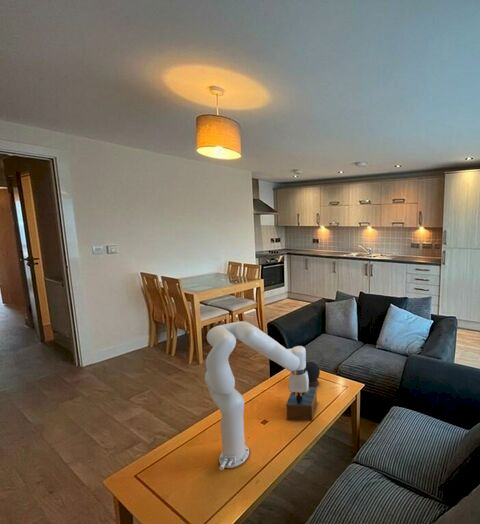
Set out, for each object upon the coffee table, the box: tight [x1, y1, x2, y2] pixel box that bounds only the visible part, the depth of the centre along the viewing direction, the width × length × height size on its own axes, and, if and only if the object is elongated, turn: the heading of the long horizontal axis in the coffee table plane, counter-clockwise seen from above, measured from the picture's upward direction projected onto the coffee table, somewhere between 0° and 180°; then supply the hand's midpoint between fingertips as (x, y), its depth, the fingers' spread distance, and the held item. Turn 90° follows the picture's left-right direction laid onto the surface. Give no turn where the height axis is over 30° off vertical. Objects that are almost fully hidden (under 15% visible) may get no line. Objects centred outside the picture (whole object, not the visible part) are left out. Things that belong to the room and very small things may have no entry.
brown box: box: [286, 388, 318, 422], centre depth 160 cm, size 16×14×9 cm
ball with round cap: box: [306, 361, 321, 388], centre depth 185 cm, size 13×13×15 cm
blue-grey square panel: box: [285, 386, 318, 407], centre depth 159 cm, size 16×14×1 cm
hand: (299, 401), depth 153 cm, fingers closed
